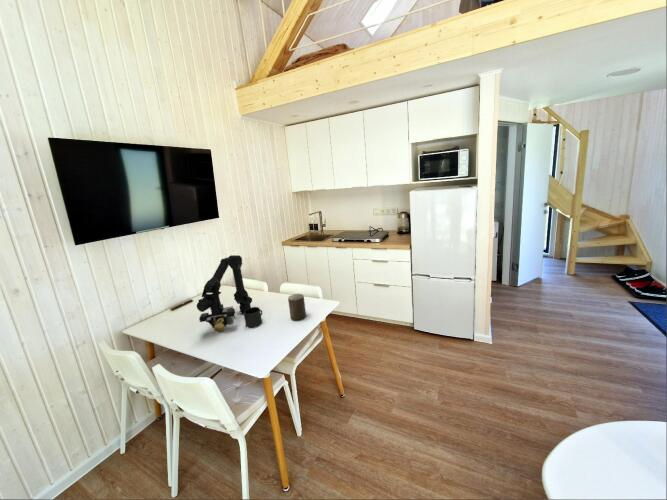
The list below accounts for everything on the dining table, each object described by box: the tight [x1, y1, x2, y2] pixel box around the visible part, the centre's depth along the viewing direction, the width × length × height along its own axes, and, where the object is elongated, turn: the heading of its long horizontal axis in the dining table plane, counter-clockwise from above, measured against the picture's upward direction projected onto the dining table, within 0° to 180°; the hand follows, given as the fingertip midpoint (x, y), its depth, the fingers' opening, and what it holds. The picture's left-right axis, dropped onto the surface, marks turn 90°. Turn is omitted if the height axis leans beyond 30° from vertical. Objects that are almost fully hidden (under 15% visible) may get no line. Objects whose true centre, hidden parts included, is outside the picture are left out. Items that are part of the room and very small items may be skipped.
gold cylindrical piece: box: [213, 316, 226, 333], centre depth 164 cm, size 14×6×6 cm, turn 13°
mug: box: [243, 306, 263, 329], centre depth 165 cm, size 9×12×9 cm
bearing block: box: [210, 306, 236, 329], centre depth 170 cm, size 10×12×8 cm
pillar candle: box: [287, 293, 307, 322], centre depth 167 cm, size 10×10×15 cm
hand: (220, 327), depth 160 cm, fingers closed on gold cylindrical piece, 5 cm apart
